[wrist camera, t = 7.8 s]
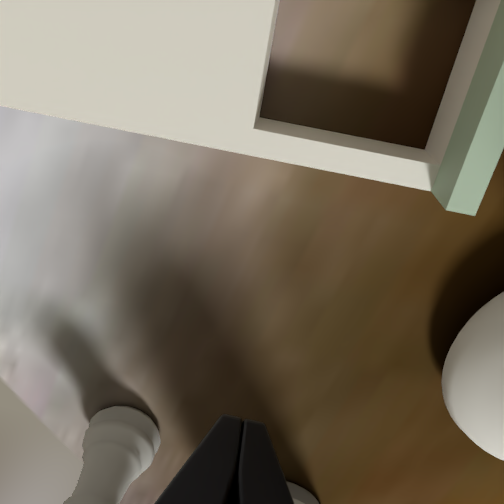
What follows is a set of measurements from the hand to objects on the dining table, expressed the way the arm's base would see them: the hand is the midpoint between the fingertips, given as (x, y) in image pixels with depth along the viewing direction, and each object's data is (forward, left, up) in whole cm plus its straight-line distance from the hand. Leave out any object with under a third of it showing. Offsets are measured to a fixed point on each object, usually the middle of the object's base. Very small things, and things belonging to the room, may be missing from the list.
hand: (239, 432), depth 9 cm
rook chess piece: (+15, +9, -14) cm, 22 cm away
